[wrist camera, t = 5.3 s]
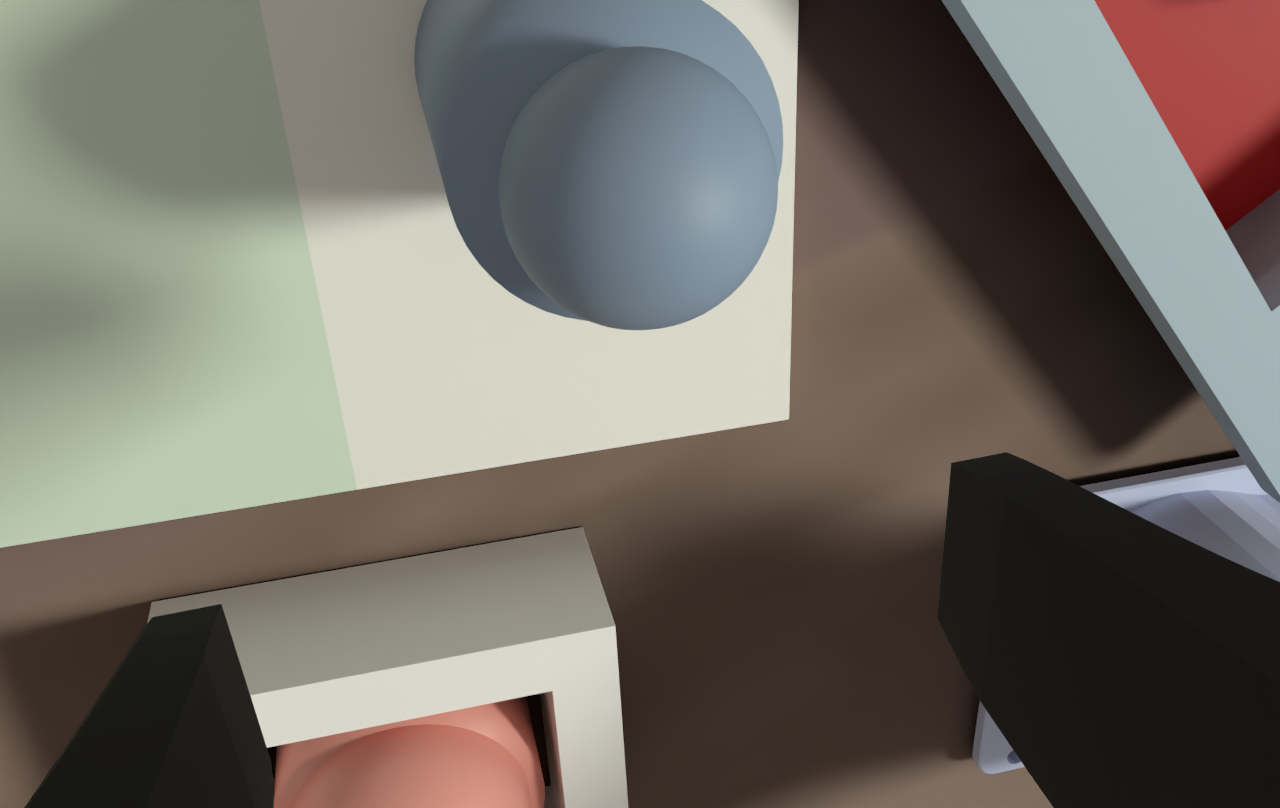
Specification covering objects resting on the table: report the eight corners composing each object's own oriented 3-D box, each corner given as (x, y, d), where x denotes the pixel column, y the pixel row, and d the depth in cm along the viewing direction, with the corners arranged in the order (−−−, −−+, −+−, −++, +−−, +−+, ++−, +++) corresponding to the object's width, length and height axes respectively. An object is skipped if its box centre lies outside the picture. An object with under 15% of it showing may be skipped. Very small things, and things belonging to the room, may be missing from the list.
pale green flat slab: (798, -514, 15) (810, -522, 15) (779, 406, 22) (788, 419, 22) (-621, -497, 12) (-655, -507, 12) (-130, 552, 19) (-140, 570, 19)
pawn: (671, -88, 17) (878, 8, 11) (679, 176, 19) (857, 390, 13) (396, -66, 16) (439, 51, 10) (432, 205, 18) (490, 448, 12)
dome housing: (582, 526, 23) (615, 625, 20) (606, 810, 27) (636, 923, 24) (151, 602, 21) (127, 718, 19) (245, 890, 25) (236, 1018, 23)
